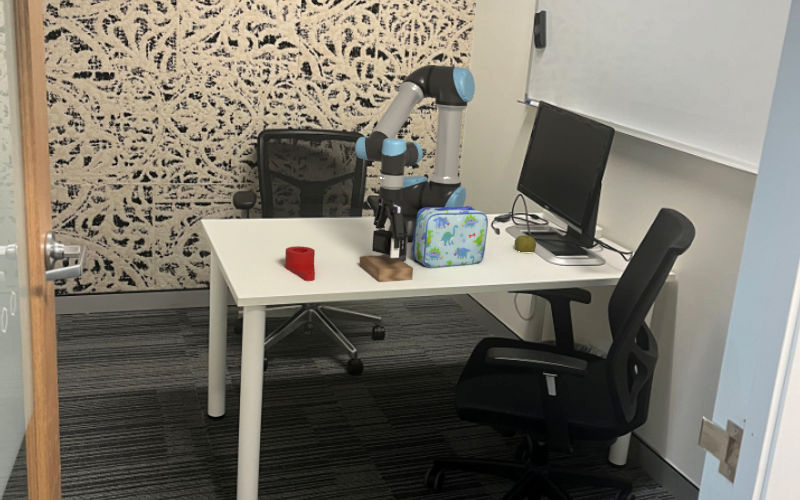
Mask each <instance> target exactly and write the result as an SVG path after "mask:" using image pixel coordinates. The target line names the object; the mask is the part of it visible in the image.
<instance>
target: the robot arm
mask: <svg viewBox="0 0 800 500" xmlns="http://www.w3.org/2000/svg"><path fill="white" fill-rule="evenodd" d="M475 85H476V84H475V78H474V76H473V73H472V71H471V70H469V69H468V68H465V67H460V66H447V65H437V64H436V65H435V64H426V65H423V66H420V67H418V68H417V69H415V70H414V71H412V72H411V73H409V75H407V76H406V77H405V78H404V79H403V80H402V81H401V83H400V85H399V86H398V93H397V94H396V95H395V97H394V99H393V100H392V102H391V103H390V105H389V107H387V109H386V111H385V112H384V113H383V115H382V117H381V118H380V119H379V121H378V122H377V124H376V126H375V127H374V129H373V130H371V131H372V132H370V133H369V136H368V137H367V136H361V137H359V138H358V139H357V140H356V143H355V145H354V150H355V151H354V153H355V155H356V157H357V158H358V159H361V160H365V161H371V162H379V163H380V164H381V165H380V176H379V180H380V181H379V185H380V187H379V189H378V190H379V191H378V192H379V193H378V200H377V207H376V210H375V211H376V212H375V216H374V219H373V226H375V230H379V229H382V230H386V229H385V228H386V226H385V225H386V223H387V220H389V226H388V229H387V231H391V232H392V234H393V236H392V237H391V252H390V258H399V246H400V238H403V237H404V234H405V235H406V236H407V237H408V241H407V242H413V237H414V230H415V225H416V219H417V214H418V212H419V210H420V209H422V208H427V207H464V205H465V202H466V197H467V192H466V191H467V189H466V188H465V187H464V186H462V180H461V178H460V177H459V176H458V174H459V173H458V172H459V161H460V159H459V158H460V148H461V134H462V123H463V111H464V110H465V109H466V108H468V103H470V102H472V101H473V99H474V95H475V93H476V92H475V89H476V87H475ZM428 98H431V99H435V101H434V105H435V106H436V107H437V109H438V115H437V130H436V131H437V132H436V144H435V159H434V171H433V172H434V173H433V175H432V176H431V177H430V178H429V179H428V177H427V176H423V175H414V176H413V175H412V176H405V168H406V167H409V166H414V165H416V164H418V163H420V162H421V160H422V158H423V155H424V152H423V148H422V146H421V145H420V143H417V142H416V141H415V142H414V141H406V140H405V139H403V138H396V137H397V134H398V133H399V132H400V130H401V128H402V127H403V125H404V124H405V122H406V121H407V119H408V118H409V116H410V115H411V113H412V111H413V110H414V109H415V107H416V106H417V105H419V104H420V103H422V102H423V100H424V99H428ZM428 180H429V181H428Z"/></svg>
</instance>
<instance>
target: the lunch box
mask: <svg viewBox="0 0 800 500" xmlns="http://www.w3.org/2000/svg"><path fill="white" fill-rule="evenodd" d="M488 228H489V218H488V216H487V214H486V213H485V212H483V211H482V210H481V211H480V210H478V209H475V208H473V206H469V205H466V206H463V207H427V208H422V209H420V210H419V212H418V214H417V219H416V225H415V230H414V237H413V241H412V245H411V254H412V258H413V260H414V261H415V262H417V263H420V264H422V265H423V266H424V267H427V268H430V269H439V268H440V269H441V268H448V267H449V268H451V267H460V266H461V267H463V266H474V265H479V264H480V263H482V261H483V259H484V255H485V251H486V241H487V235H488Z"/></svg>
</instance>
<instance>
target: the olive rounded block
mask: <svg viewBox="0 0 800 500" xmlns="http://www.w3.org/2000/svg"><path fill="white" fill-rule="evenodd" d="M536 248H537V242H536V239H535V238H534V236H530V235H526V234H525V235H523V234H522V235H519V236H517V237H516V238H515V240H514V249H515V251H516V250H517V251H516V252H518V251H520V252H519V253H521V252H533V251H534V252H535V250H536ZM534 252H533V253H534Z"/></svg>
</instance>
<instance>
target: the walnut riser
mask: <svg viewBox="0 0 800 500" xmlns="http://www.w3.org/2000/svg"><path fill="white" fill-rule="evenodd" d="M358 267H359V268H361V269H362V271H364V272H366V273H367V274H368V275H369V276H371V277H372V278H373V279H374V280H375V281H377V282H378V283H385V282H399V281H412V280H413V276H414V275H413V274H414V267H412V266H411V265H409V264H408V263H406V261H404V262H403V261H401V260H400V259H398V258H390V255H386V254H379V255H377V254H376V255H363V256H359V265H358Z"/></svg>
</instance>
